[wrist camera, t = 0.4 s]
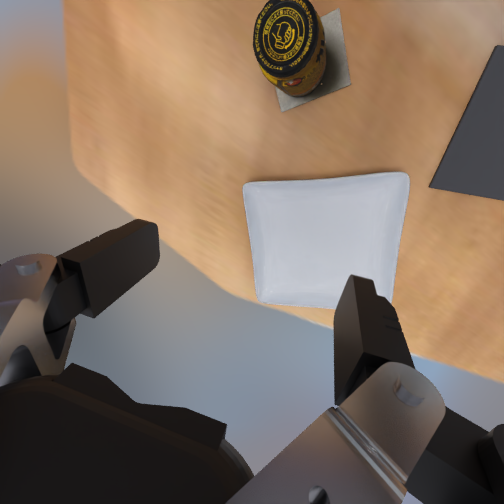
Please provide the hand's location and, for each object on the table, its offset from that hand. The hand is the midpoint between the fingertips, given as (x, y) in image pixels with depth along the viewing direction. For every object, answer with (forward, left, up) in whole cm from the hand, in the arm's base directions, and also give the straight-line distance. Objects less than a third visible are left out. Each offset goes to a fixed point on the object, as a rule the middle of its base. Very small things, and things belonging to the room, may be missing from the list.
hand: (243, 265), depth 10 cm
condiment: (-11, -2, -28) cm, 31 cm away
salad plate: (+11, +5, -29) cm, 31 cm away
